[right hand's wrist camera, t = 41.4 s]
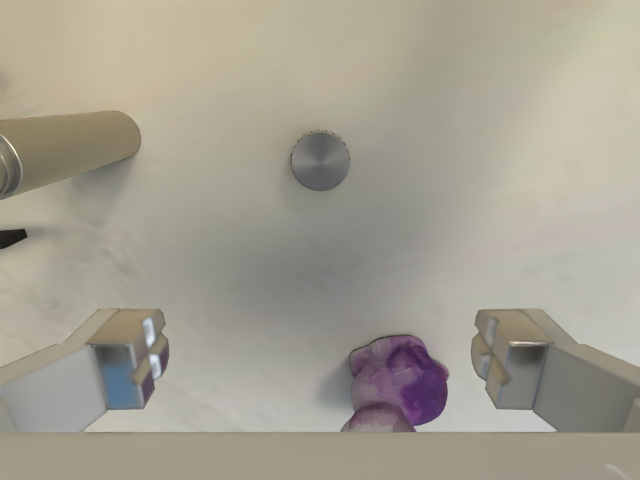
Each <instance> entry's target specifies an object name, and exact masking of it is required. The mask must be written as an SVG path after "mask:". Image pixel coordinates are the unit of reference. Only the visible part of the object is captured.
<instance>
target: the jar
mask: <svg viewBox="0 0 640 480" xmlns="http://www.w3.org/2000/svg"><path fill="white" fill-rule="evenodd" d="M140 141H141V137H140V132H139V129H138V127H137V125H136V124H135V122H134V121H133V120H132V119H131V118H130V117H129V116H127V115H126V114H124V113H121V112H118V111H105V112H93V113H81V114H69V115H57V116H45V117H33V118H21V119H9V120H0V200H3V199H6V198H9V197H12V196H15V195H18V194H21V193H24V192H27V191H30V190H33V189H36V188H39V187H42V186H45V185H48V184H51V183H54V182H57V181H60V180H63V179H66V178H69V177H72V176H75V175H78V174H81V173H83V172H86V171H89V170H92V169H95V168H98V167H101V166H104V165H107V164H110V163H113V162H116V161H119V160H122V159H125V158H128V157H131V156H132V155H134V154H135V153H136V152H137V150H138V148H139V146H140Z"/></svg>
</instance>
